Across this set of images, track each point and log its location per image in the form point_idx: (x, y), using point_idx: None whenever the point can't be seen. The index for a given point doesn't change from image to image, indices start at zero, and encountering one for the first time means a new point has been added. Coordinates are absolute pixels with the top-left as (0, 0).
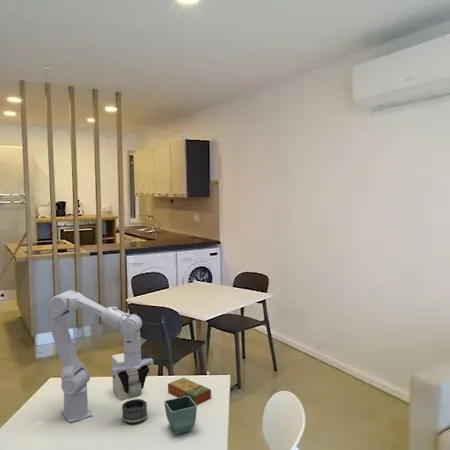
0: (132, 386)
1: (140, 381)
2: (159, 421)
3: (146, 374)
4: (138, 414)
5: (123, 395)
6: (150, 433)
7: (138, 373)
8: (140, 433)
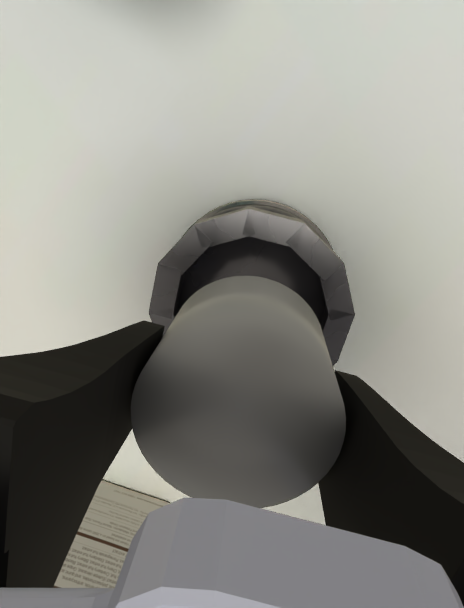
0: (323, 361)
1: (138, 389)
2: (170, 113)
3: (8, 363)
4: (286, 214)
5: (143, 516)
6: (325, 23)
7: (76, 527)
8: (367, 90)
